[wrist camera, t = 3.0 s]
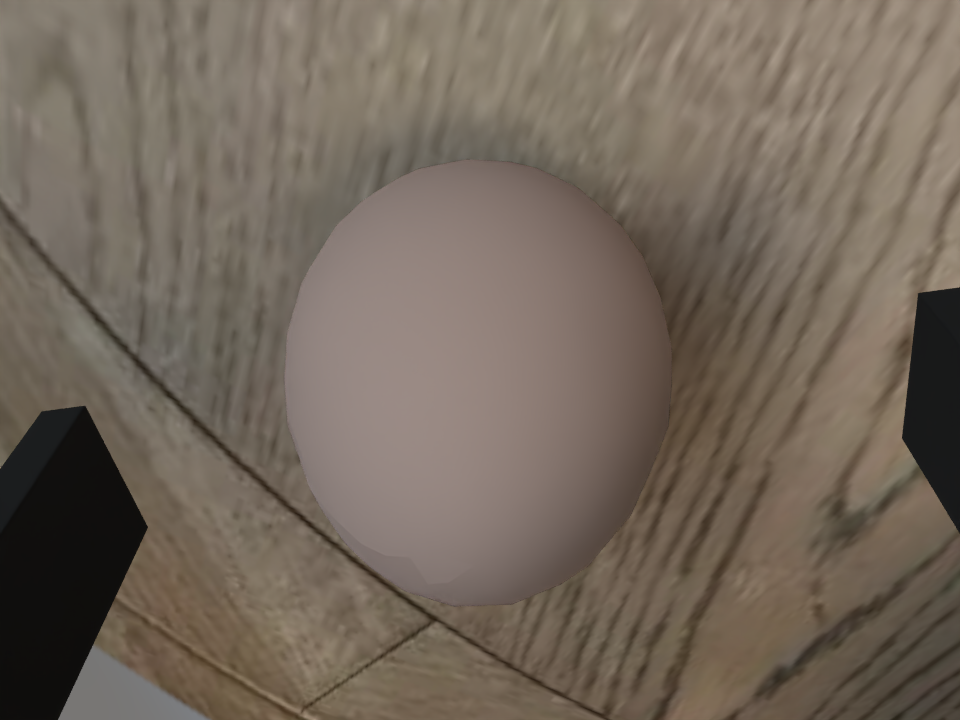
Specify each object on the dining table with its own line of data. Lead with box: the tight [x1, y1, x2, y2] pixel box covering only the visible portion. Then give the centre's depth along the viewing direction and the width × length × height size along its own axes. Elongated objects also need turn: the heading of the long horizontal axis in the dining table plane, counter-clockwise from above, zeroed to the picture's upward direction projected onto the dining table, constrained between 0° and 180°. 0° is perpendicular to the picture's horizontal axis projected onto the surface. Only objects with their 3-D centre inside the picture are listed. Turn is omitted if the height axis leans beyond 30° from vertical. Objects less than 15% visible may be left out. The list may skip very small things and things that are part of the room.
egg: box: [284, 159, 672, 607], centre depth 15 cm, size 7×7×9 cm
